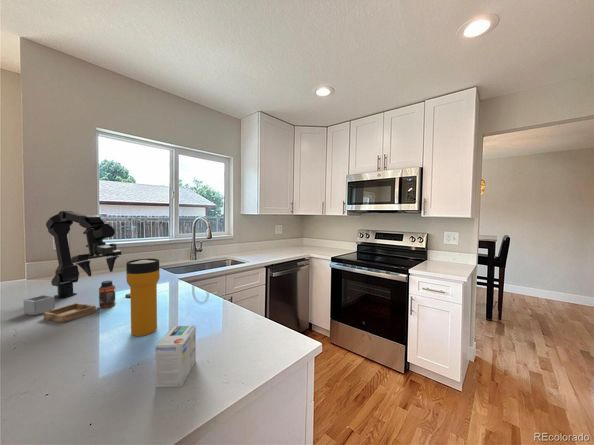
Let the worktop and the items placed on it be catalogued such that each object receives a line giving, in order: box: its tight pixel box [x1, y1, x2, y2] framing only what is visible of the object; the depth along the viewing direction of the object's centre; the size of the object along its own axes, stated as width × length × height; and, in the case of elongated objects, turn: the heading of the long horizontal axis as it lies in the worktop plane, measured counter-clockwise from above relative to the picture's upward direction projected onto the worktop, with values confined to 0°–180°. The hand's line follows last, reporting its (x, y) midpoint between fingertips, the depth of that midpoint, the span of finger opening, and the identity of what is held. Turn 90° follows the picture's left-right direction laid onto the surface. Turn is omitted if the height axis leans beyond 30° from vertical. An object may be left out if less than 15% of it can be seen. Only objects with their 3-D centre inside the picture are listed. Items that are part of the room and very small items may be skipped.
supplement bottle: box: [98, 280, 117, 309], centre depth 112 cm, size 6×6×11 cm
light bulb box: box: [154, 325, 197, 388], centre depth 66 cm, size 11×7×11 cm, turn 5°
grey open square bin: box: [23, 294, 56, 316], centre depth 105 cm, size 7×7×6 cm
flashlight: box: [125, 258, 160, 337], centre depth 89 cm, size 10×26×10 cm
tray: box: [43, 302, 96, 324], centre depth 102 cm, size 12×12×2 cm
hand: (101, 274), depth 116 cm, fingers open, 9 cm apart
